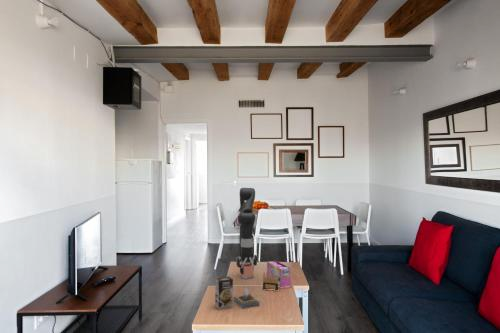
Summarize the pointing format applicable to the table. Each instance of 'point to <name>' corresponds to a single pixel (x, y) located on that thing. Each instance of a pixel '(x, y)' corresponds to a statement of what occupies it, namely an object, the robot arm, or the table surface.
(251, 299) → the post stand
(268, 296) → the table surface
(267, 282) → the ammunition clip
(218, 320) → the table surface
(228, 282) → the coffee box
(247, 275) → the collar
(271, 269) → the gum box
